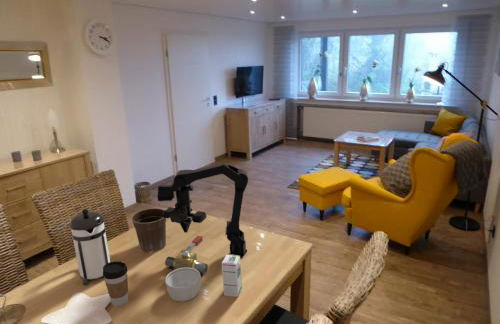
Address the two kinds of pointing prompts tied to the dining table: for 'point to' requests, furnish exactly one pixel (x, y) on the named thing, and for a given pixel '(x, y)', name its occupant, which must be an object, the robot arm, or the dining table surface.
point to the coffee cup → (116, 282)
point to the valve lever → (191, 246)
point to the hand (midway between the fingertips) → (186, 232)
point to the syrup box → (231, 275)
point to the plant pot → (150, 229)
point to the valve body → (186, 263)
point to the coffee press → (90, 244)
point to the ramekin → (183, 284)
